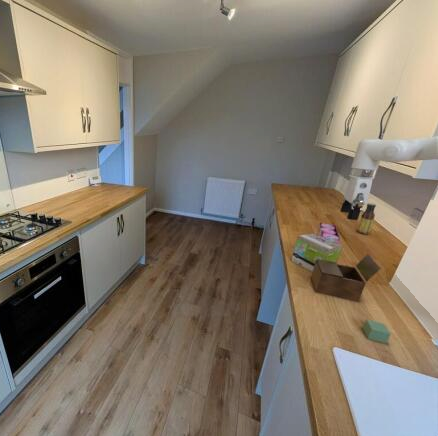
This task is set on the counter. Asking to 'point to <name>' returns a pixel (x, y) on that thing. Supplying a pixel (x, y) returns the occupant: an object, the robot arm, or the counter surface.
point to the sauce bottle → (366, 219)
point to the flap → (367, 267)
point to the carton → (337, 280)
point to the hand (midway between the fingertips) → (348, 215)
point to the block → (376, 331)
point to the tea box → (314, 250)
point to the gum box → (328, 232)
